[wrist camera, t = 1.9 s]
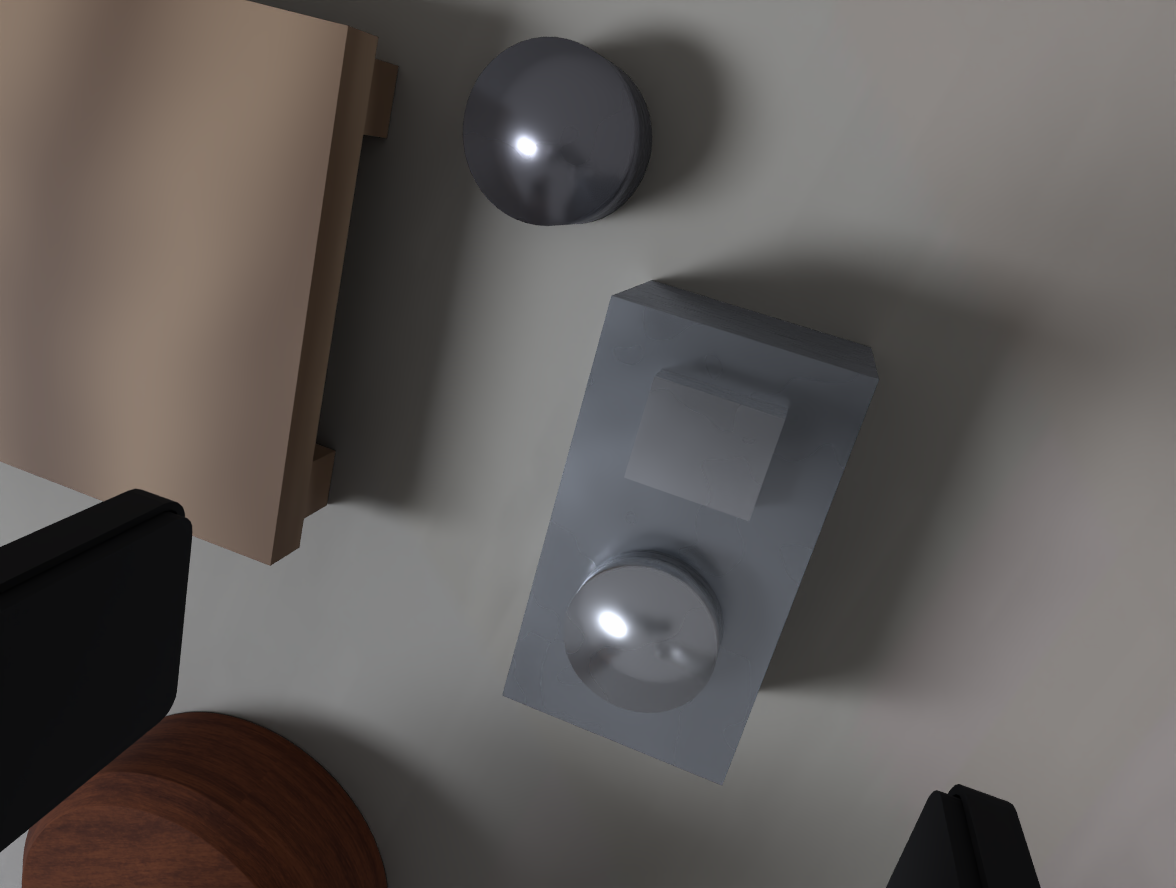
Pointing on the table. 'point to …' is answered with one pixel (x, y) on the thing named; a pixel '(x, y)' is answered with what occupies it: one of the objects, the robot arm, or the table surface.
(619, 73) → the dark grey round piece
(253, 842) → the music box
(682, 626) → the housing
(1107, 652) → the table surface
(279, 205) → the stand
